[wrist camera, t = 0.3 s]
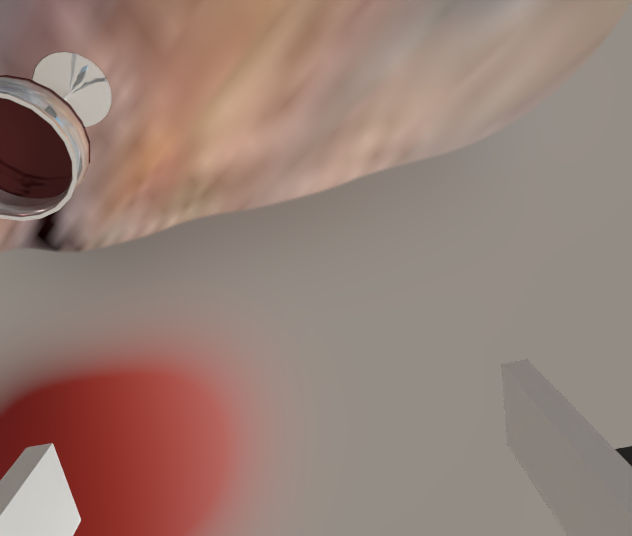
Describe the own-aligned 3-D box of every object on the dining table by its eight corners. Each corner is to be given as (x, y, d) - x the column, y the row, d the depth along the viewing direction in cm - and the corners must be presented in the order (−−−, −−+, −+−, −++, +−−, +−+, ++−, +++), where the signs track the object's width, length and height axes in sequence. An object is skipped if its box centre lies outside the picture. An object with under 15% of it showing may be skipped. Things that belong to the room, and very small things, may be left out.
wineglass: (0, 100, 35) (-97, 173, 25) (44, 13, 32) (-45, 56, 22) (96, 157, 38) (43, 243, 28) (143, 81, 35) (103, 147, 25)
